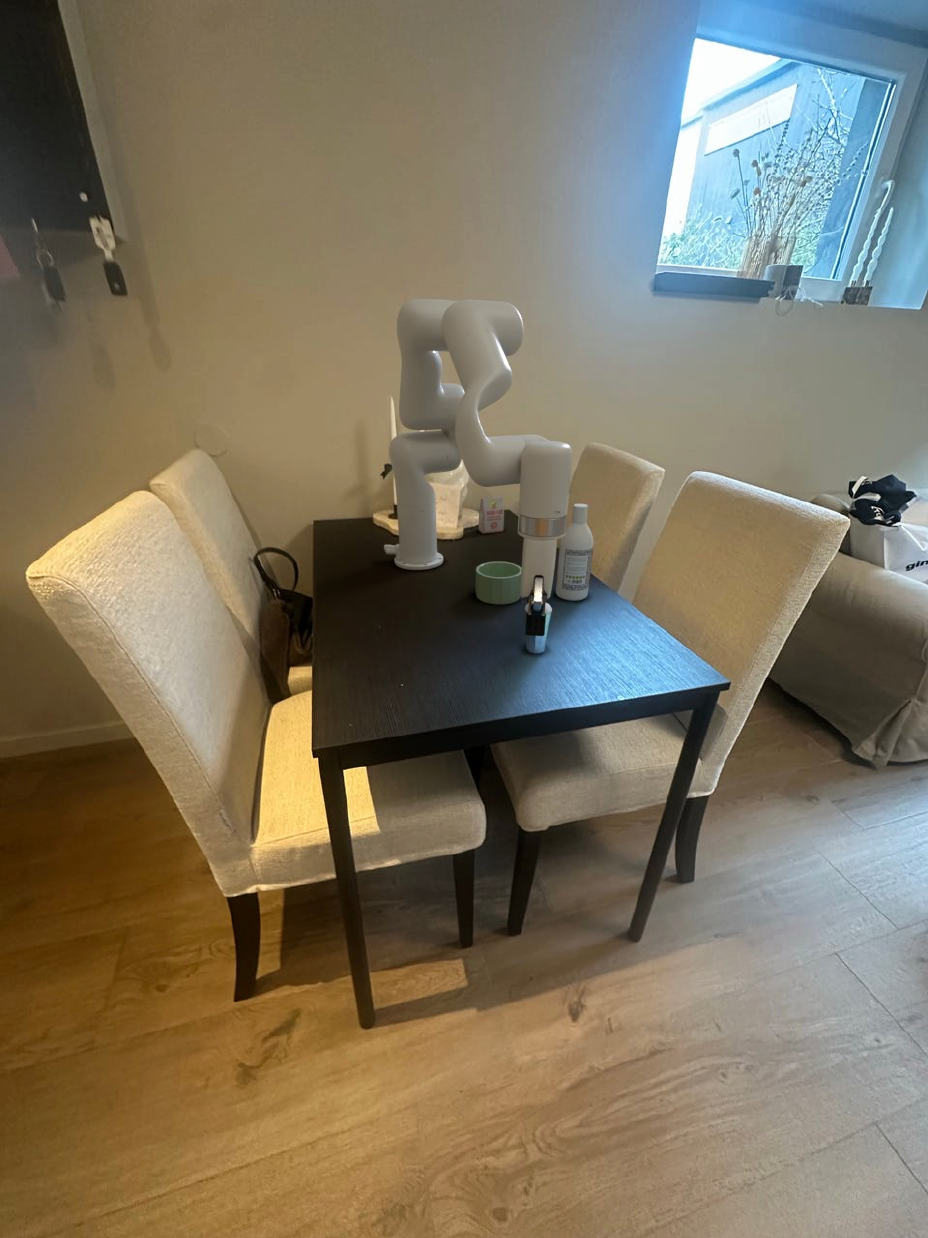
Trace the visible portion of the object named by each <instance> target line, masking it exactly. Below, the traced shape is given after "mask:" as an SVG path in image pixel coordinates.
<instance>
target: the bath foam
mask: <svg viewBox="0 0 928 1238" xmlns="http://www.w3.org/2000/svg"><path fill="white" fill-rule="evenodd" d="M588 511H589V505H588V504H586V503H574V504H573V506H572V515H571V522H570V523H569V525H568V526H566V533H565V536H564V537H563V538H560V542H559V550H558V560H557V571H556V572H557V574H556V585H555V594H556V596H557V597H558V598H560V599H562V600H565V601H573V602H575V601H582V600H584V599H586V598H587V597H588V595H589V586H590V580H591V570H592V561H593V554H594V546H595V545H594V537H593V533H592V531H591V529H590V527H589V525H588V523H587V520H588Z"/></svg>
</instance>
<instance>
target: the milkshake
mask: <svg viewBox="0 0 928 1238" xmlns="http://www.w3.org/2000/svg"><path fill="white" fill-rule="evenodd" d="M520 600H521V602H522V605H523V607H524V614H525V617H526V612H528V605H529V603H528V604H527V603H526V605H525V604H524V601H523V598H520ZM532 604H534V601H532ZM541 604H542V603H541ZM552 610H553V608H552V607H551V605H550V604H549V603H547V602H546V605H545V613H546V623H545V635H544V636H531V635H526V634H525V641H526V642H525V645H526V647H525V649H526V650H527V652H528V653H531V654H534V655H536V654H537V655H538V654H542V653H544V652H545V649H546V644H547V643H546V642H547V638H548V637H547V636H548V632H549V631H548V630H549V626H550V621H551V617H552V612H553V611H552ZM531 611H532V610H531Z"/></svg>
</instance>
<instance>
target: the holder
mask: <svg viewBox="0 0 928 1238" xmlns="http://www.w3.org/2000/svg"><path fill="white" fill-rule="evenodd" d="M521 569H522V566H520V565H518V564H516V563H514V562H508V561H500V560H499V561H497V560H496V561H487V562H484V563H480V564H479V565H477V566H476V568H475V596H476V598H477V599H478V600H479V601H481V602H482V603H487V604H492V605H508V604H509V605H510V604H512V603H515V602H518V601H520V600H521V599H522V597H521V596H520V590H521Z"/></svg>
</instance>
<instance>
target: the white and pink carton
mask: <svg viewBox="0 0 928 1238" xmlns="http://www.w3.org/2000/svg"><path fill="white" fill-rule="evenodd" d="M503 501H504V499H503V497H502V496H501V497H489V498H481V499H480V504H479V509H478V531H479V532H480V533H482V534H491V533H501V532H504V529H505V526H504V525H505V510H504V502H503Z"/></svg>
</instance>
